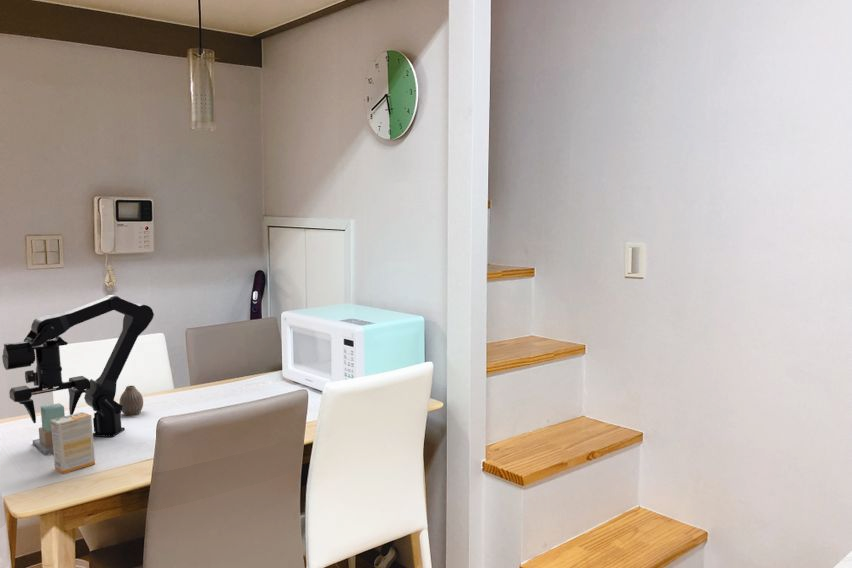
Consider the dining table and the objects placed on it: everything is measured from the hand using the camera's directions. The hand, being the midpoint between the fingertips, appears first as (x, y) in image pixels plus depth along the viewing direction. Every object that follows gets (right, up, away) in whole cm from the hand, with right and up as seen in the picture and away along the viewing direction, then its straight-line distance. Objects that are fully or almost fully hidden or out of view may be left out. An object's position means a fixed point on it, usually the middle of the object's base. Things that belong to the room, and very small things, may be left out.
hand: (53, 419), depth 190 cm
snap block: (0, -3, 0) cm, 2 cm away
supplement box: (+13, -10, -15) cm, 22 cm away
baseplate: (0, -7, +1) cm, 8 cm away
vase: (+9, -4, +29) cm, 31 cm away
